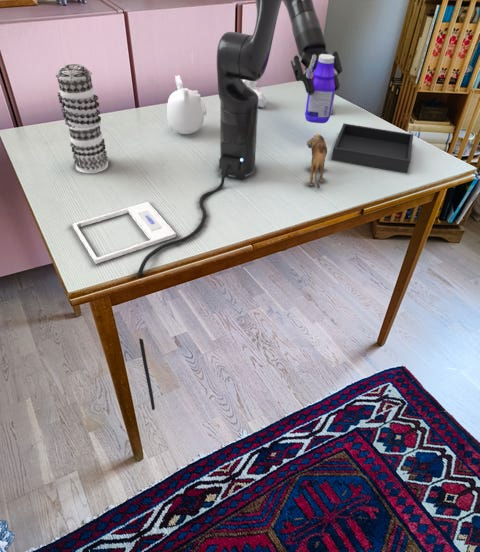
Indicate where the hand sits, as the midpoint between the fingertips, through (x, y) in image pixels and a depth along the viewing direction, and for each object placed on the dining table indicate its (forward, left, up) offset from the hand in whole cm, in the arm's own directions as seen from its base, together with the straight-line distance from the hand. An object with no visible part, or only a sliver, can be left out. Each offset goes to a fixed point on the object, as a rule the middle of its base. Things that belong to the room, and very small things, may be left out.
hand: (324, 92), depth 126 cm
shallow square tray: (+1, -16, -15) cm, 22 cm away
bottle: (+1, +1, -9) cm, 9 cm away
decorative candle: (-35, +54, -16) cm, 66 cm away
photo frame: (-59, +31, -15) cm, 68 cm away
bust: (+22, +27, -16) cm, 38 cm away
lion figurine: (-18, -3, -16) cm, 24 cm away
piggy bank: (-6, +39, -16) cm, 42 cm away
